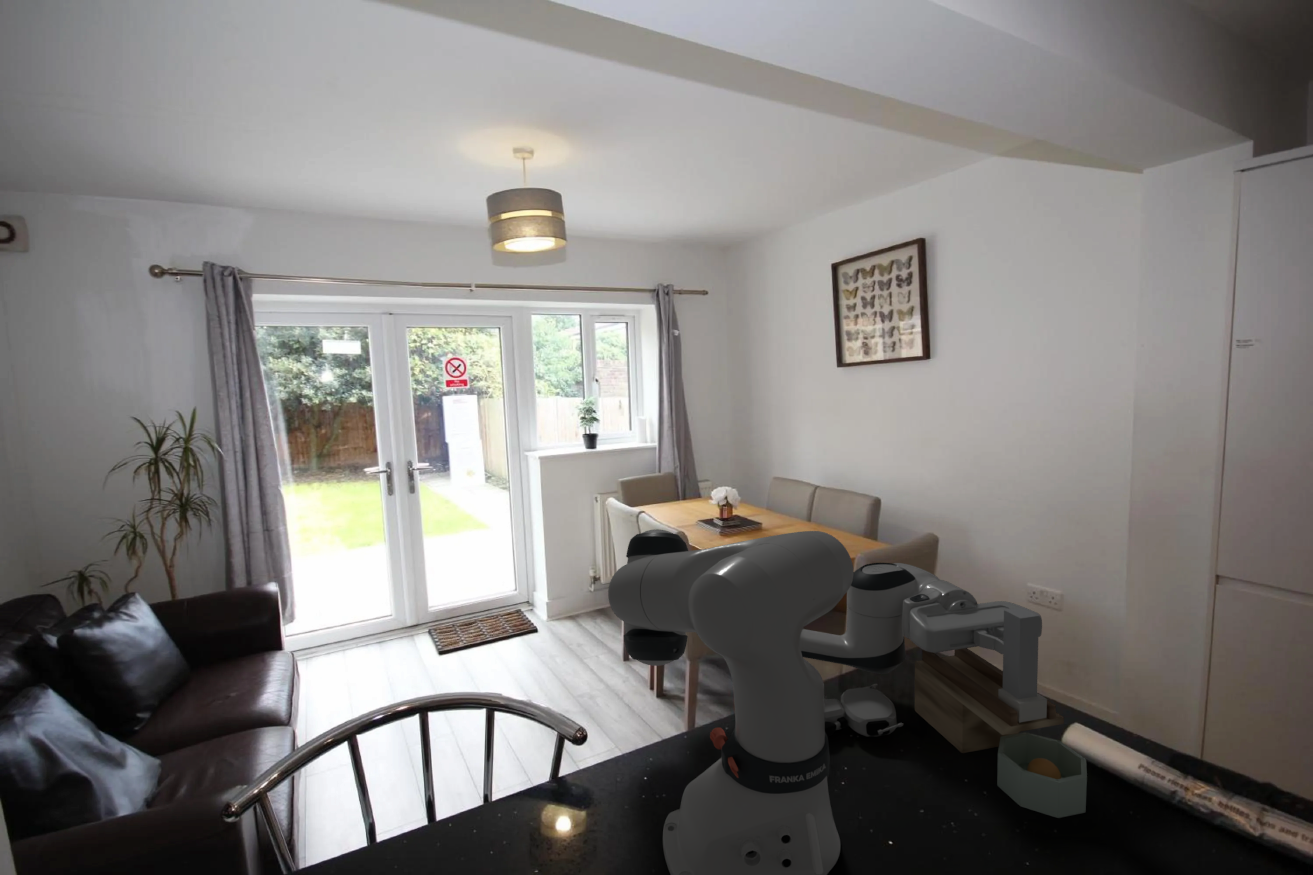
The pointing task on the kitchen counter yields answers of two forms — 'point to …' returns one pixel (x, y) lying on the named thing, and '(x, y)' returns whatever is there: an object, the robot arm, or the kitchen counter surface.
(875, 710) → the robot toy
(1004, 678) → the tall post on base
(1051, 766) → the ball
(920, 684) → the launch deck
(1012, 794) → the green octagonal bowl
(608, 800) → the kitchen counter surface
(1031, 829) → the kitchen counter surface
